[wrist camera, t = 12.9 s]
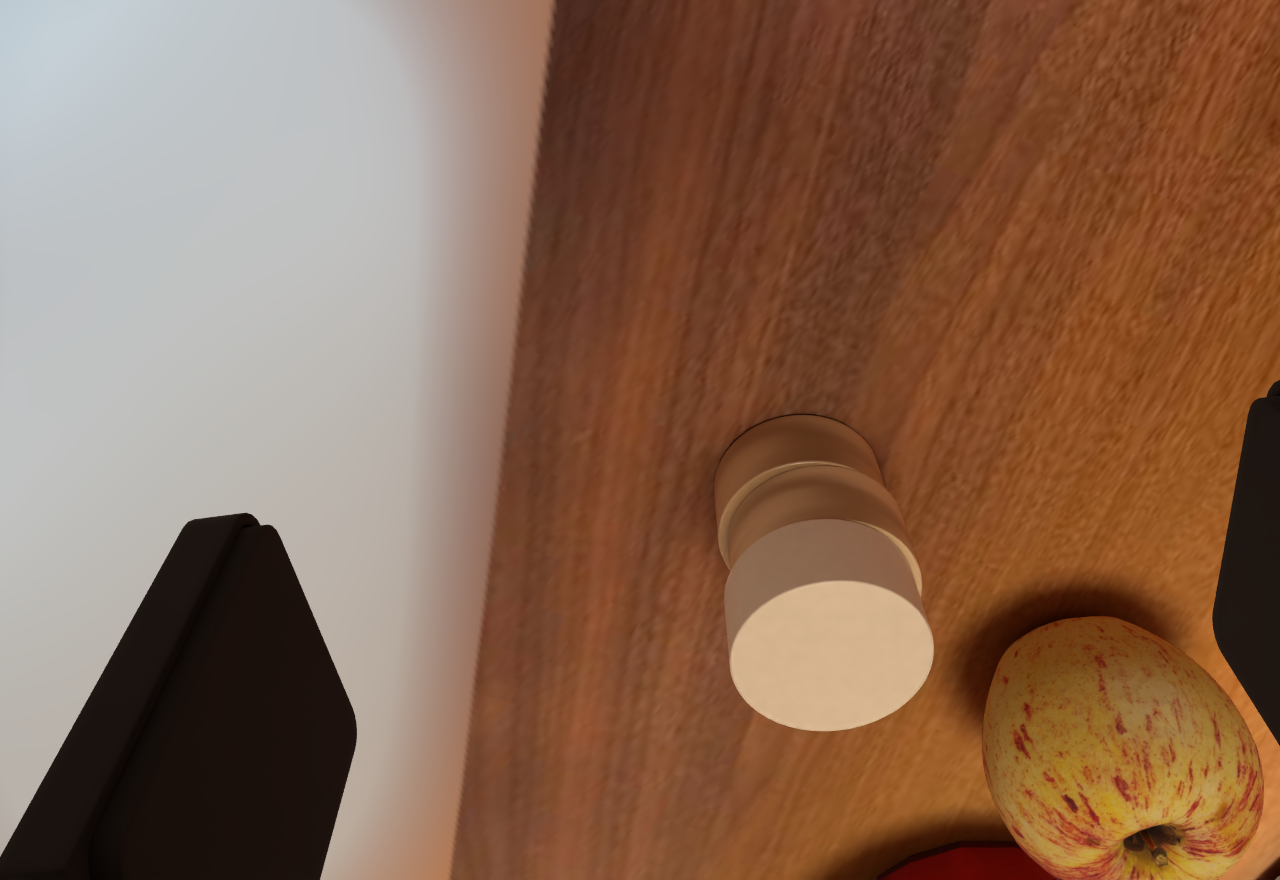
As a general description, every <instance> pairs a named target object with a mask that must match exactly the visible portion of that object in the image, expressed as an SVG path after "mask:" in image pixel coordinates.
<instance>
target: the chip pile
mask: <svg viewBox="0 0 1280 880" xmlns="http://www.w3.org/2000/svg"><path fill="white" fill-rule="evenodd" d="M714 497H715V509H716V521H717V533H718V544H719V548H720V553H721V555H722V557H723V560H724V562H725V563H726V565H727V567H728V568H729V570H730V572H731V570H732V568H733V566H734V565H735V563H736V562H737V560H738V559H739V557H740V556H741V555H742V554H743V553H744V552H745V550H747V549H748V548H749V547H750V546H751V545H752V544H753V543H755V542H756V541H757V540H759V539H760V538H762V537H763V536H765V535H767V534H769V533H770V532H772V531H774V530H776V529H779V528H781V527H784V526H786V525H790V524H793V523H797V522H801V521H807V520H815V519H839V520H846V521H851V522H855V523H859V524H862V525H865V526H867V527H870V528H872V529H874V530H876V531H878V532H880V533H882V534H883V535H885V536H886V537H887V538H889V539H890V540H891V541H893V542H894V543H895V544H896V545H897V546H898V547H899V548H900V550H901V551H902V552H903V554H904V555H905V556H906V558H907V560H908V562H909V564H910V566H911V569H912V573H913V576H914V579H915V582H916V585H917V588H918V592H919V595H920V598H921V594H922V576H921V571H920V568H919V565H918V562H917V559H916V556H915V553H914V550H913V546H912V543H911V540H910V537H909V534H908V531H907V528H906V525H905V522H904V519H903V516H902V513H901V510H900V508H899V506H898V504H897V502H896V501H895V499H894V498H893V496H892V495H891V494H890V493H889V492H888V491H887V490H886V488H885V485H884V482H883V479H882V476H881V472H880V469H879V466H878V463H877V460H876V457H875V455H874V453H873V451H872V449H871V448H870V446H869V445H868V444H867V442H866V441H865V440H864V439H863V438H862V437H861V436H860V435H859V434H857V433H856V432H855V431H854V430H852V429H851V428H849V427H847V426H846V425H844V424H842V423H839V422H837V421H835V420H832V419H828V418H825V417H820V416H813V415H792V416H785V417H780V418H776V419H772V420H769V421H766V422H764V423H762V424H759V425H757V426H755V427H754V428H752V429H750V430H749V431H747V432H746V433H744V434H743V435H742V436H740V437H739V438H738V439H737V440H736V441H735V442H734V443H733V444H732V445H731V446H730V448H729V449H728V450H727V451H726V453H725V454H724V456H723V458H722V459H721V461H720V463H719V466H718V468H717V471H716V475H715V480H714Z"/></svg>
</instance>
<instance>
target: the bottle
mask: <svg viewBox="0 0 1280 880" xmlns="http://www.w3.org/2000/svg"><path fill="white" fill-rule="evenodd" d="M876 880H1058V879H1057V878H1055V877H1054V876H1052V875H1051V874H1050V873H1048V872H1047V871H1046V870H1045V869H1043V868H1042V867H1041V866H1040V865H1039V864H1038V863H1036V862H1035V861H1034V860H1033V859H1032V858H1031V857H1030V856H1029V855H1028V854H1027V853H1026V852H1025V851H1024V850H1023V849H1022V848H1021V847H1020V846H1019V845H1018V844H1016V843H1012V842H957V843H953V844H950V845H947V846H943V847H940V848H937V849H933V850H930V851H927V852H923V853H920V854H917V855H913V856H911V857H909V858H907V859H906V860H904V861H903V862H901V863H899V864H898V865H896V866H894V867H893V868H891V869H890V870H888V871H886V872H885V873H883V874H882V875H880V876H878V877H877V878H876Z"/></svg>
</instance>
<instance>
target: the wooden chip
mask: <svg viewBox="0 0 1280 880" xmlns="http://www.w3.org/2000/svg"><path fill="white" fill-rule="evenodd" d="M724 603H725V615H726V627H727V639H728V650H729V662H730V671H731V675H732V679H733V682H734V684H735V686H736V688H737V690H738V691H739V693H740V694H741V696H742V697H743V698H744V700H745V701H746V702H747V703H748V704H749V705H750V706H751V707H752V708H754V709H755V710H756V711H757V712H759V713H760V714H762V715H763V716H765V717H767V718H768V719H771V720H773V721H775V722H777V723H780V724H783V725H785V726H788V727H793V728H797V729H802V730H810V731H838V730H845V729H851V728H855V727H859V726H863V725H866V724H869V723H872V722H875V721H877V720H879V719H881V718H883V717H886V716H887V715H889V714H891V713H892V712H894V711H896V710H897V709H899V708H900V707H901V706H903V705H904V704H905V703H907V702H908V701H909V700H910V699H911V698H912V697H913V696H914V695H915V694H916V693H917V691H918V690H919V689H920V688H921V686H922V685H923V683H924V681H925V680H926V678H927V676H928V674H929V671H930V669H931V666H932V661H933V657H934V642H933V636H932V633H931V629H930V626H929V623H928V620H927V617H926V614H925V610H924V607H923V604H922V601H921V598H920V595H919V592H918V588H917V585H916V582H915V579H914V576H913V573H912V569H911V566H910V564H909V562H908V560H907V558H906V556H905V555H904V554H903V552H902V551H901V550H900V548H899V547H898V546H897V545H896V544H895V543H894V542H893V541H891V540H890V539H889V538H887V537H886V536H885V535H883V534H882V533H880V532H878V531H876V530H874V529H872V528H870V527H867V526H865V525H862V524H859V523H855V522H851V521H846V520H839V519H815V520H807V521H801V522H797V523H793V524H790V525H786V526H784V527H781V528H779V529H776V530H774V531H772V532H770V533H769V534H767V535H765V536H763V537H762V538H760V539H759V540H757V541H756V542H755V543H753V544H752V545H751V546H750V547H749V548H748V549H747V550H745V552H744V553H743V554H742V555H741V556H740V557H739V559H738V560H737V562H736V563H735V565H734V566H733V568H732V570H731V572H730V574H729V576H728V579H727V582H726V586H725V593H724Z"/></svg>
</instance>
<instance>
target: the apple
mask: <svg viewBox="0 0 1280 880" xmlns="http://www.w3.org/2000/svg"><path fill="white" fill-rule="evenodd" d="M982 754H983V764H984V771H985V775H986V779H987V783H988V787H989V790H990V792H991V795H992V798H993V800H994V803H995V805H996V808H997V810H998V812H999V814H1000V816H1001V818H1002V820H1003V822H1004V823H1005V825H1006V827H1007V828H1008V830H1009V832H1010V833H1011V835H1012V836H1013V838H1014V839H1015V841H1016V842H1017V843H1018V845H1019V846H1020V847H1021V848H1022V849H1023V850H1024V851H1025V852H1026V853H1027V854H1028V855H1029V856H1030V857H1031V858H1032V859H1033V860H1034V861H1035V862H1036V863H1038V864H1039V865H1040V866H1041V867H1042V868H1043V869H1045V870H1046V871H1047V872H1048V873H1050V874H1051V875H1052V876H1054V877H1055V878H1057V879H1058V880H1218V879H1219V878H1221V877H1222V876H1223V875H1224V874H1225V873H1226V872H1227V871H1229V870H1230V869H1231V868H1232V867H1233V866H1234V865H1235V864H1236V863H1237V862H1238V861H1239V859H1240V858H1241V857H1242V855H1243V854H1244V852H1245V851H1246V850H1247V848H1248V846H1249V845H1250V843H1251V842H1252V840H1253V838H1254V835H1255V833H1256V831H1257V829H1258V825H1259V822H1260V818H1261V815H1262V810H1263V801H1264V780H1263V771H1262V766H1261V761H1260V757H1259V754H1258V750H1257V747H1256V744H1255V742H1254V740H1253V737H1252V735H1251V733H1250V731H1249V729H1248V727H1247V725H1246V723H1245V721H1244V719H1243V718H1242V716H1241V714H1240V712H1239V711H1238V709H1237V708H1236V706H1235V705H1234V703H1233V702H1232V700H1231V699H1230V697H1229V696H1228V695H1227V694H1226V692H1225V691H1224V690H1223V689H1222V688H1221V686H1220V685H1219V684H1218V683H1217V682H1216V681H1215V680H1214V679H1213V678H1212V677H1211V676H1210V674H1209V673H1208V672H1207V671H1206V670H1204V669H1203V668H1202V667H1201V666H1200V665H1199V664H1197V663H1196V662H1195V661H1194V660H1193V659H1191V658H1190V657H1189V656H1187V655H1186V654H1185V653H1183V652H1182V651H1180V650H1179V649H1177V648H1176V647H1174V646H1173V645H1171V644H1170V643H1168V642H1167V641H1165V640H1163V639H1162V638H1160V637H1158V636H1156V635H1154V634H1153V633H1151V632H1149V631H1147V630H1144V629H1142V628H1140V627H1138V626H1136V625H1134V624H1132V623H1129V622H1127V621H1124V620H1121V619H1118V618H1114V617H1108V616H1091V617H1079V618H1069V619H1063V620H1059V621H1055V622H1052V623H1049V624H1046V625H1043V626H1041V627H1038V628H1036V629H1034V630H1032V631H1030V632H1029V633H1027V634H1026V635H1024V636H1023V637H1021V638H1020V639H1018V640H1017V641H1015V642H1014V643H1013V644H1012V645H1011V646H1010V647H1009V648H1008V649H1007V650H1006V651H1005V653H1004V654H1003V656H1002V658H1001V659H1000V661H999V664H998V666H997V669H996V672H995V674H994V677H993V680H992V683H991V686H990V690H989V693H988V698H987V702H986V707H985V713H984V718H983V728H982Z"/></svg>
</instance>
